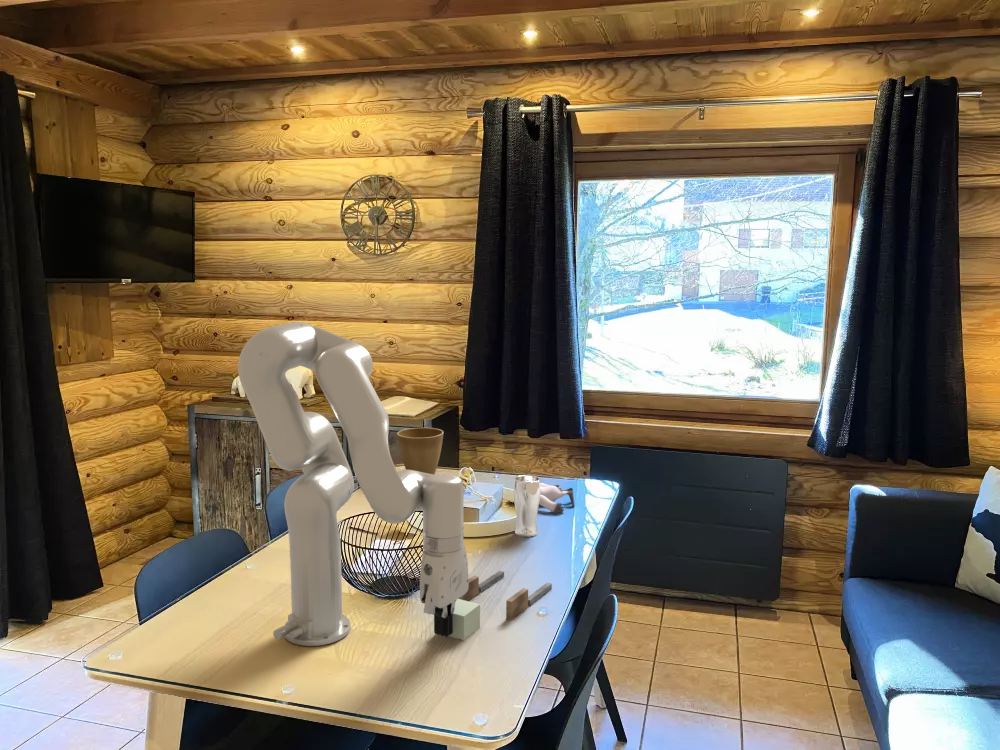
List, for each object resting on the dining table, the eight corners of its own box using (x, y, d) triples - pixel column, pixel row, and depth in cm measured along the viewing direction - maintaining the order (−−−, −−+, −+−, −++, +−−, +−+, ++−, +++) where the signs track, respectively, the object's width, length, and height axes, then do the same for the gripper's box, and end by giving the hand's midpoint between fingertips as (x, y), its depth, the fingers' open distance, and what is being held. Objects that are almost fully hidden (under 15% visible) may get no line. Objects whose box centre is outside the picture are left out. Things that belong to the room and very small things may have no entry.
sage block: (463, 640, 150) (463, 616, 149) (437, 633, 153) (437, 609, 152) (479, 628, 155) (480, 604, 155) (454, 621, 158) (454, 597, 157)
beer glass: (544, 531, 210) (545, 477, 207) (531, 539, 204) (532, 483, 202) (521, 526, 213) (522, 473, 211) (508, 534, 207) (509, 479, 205)
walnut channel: (511, 620, 158) (511, 601, 158) (455, 604, 165) (456, 586, 165) (527, 607, 164) (528, 589, 164) (473, 593, 171) (474, 575, 171)
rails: (530, 605, 165) (530, 600, 165) (476, 591, 172) (476, 586, 172) (551, 588, 174) (551, 583, 174) (499, 575, 180) (499, 570, 180)
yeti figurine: (577, 502, 242) (514, 496, 246) (579, 480, 242) (515, 475, 245) (571, 517, 223) (502, 510, 227) (572, 493, 222) (503, 487, 226)
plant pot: (430, 471, 267) (430, 425, 264) (451, 482, 254) (451, 434, 252) (389, 477, 259) (389, 430, 256) (410, 489, 246) (409, 439, 244)
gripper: (436, 558, 138) (436, 655, 141) (481, 533, 151) (481, 623, 154) (402, 549, 142) (403, 644, 145) (449, 526, 155) (449, 614, 157)
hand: (443, 633), depth 149 cm, fingers closed
